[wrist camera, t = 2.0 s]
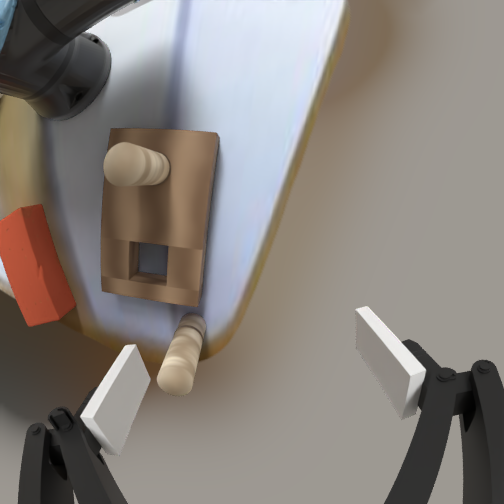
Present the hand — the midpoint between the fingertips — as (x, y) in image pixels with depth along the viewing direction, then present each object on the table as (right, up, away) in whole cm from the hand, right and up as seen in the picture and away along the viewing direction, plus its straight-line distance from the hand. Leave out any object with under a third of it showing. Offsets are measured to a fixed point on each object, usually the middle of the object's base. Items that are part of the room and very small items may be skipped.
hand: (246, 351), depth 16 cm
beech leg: (-9, -5, +26) cm, 28 cm away
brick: (-36, +4, +23) cm, 43 cm away
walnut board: (-12, +11, +22) cm, 27 cm away
